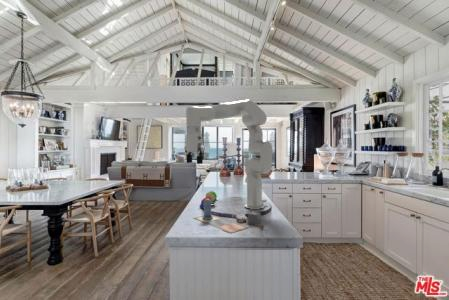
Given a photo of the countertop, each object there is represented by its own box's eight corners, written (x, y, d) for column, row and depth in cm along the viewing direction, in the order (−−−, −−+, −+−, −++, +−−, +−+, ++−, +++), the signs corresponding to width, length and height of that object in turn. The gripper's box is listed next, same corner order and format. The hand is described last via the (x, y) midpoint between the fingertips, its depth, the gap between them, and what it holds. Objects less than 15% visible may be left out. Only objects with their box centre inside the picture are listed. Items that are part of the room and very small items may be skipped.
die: (252, 220, 146) (251, 211, 145) (260, 222, 143) (260, 212, 143) (248, 223, 141) (247, 213, 141) (257, 224, 139) (256, 214, 138)
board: (209, 214, 158) (209, 214, 158) (249, 227, 134) (249, 227, 134) (192, 218, 151) (192, 218, 151) (230, 233, 126) (230, 233, 126)
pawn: (208, 216, 154) (208, 197, 153) (214, 218, 150) (214, 198, 149) (200, 218, 150) (200, 198, 150) (206, 220, 146) (206, 200, 146)
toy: (211, 213, 172) (220, 197, 184) (208, 204, 168) (217, 188, 180) (199, 212, 176) (209, 196, 187) (196, 203, 172) (206, 187, 183)
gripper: (209, 130, 139) (210, 163, 139) (190, 131, 152) (191, 161, 153) (197, 129, 134) (197, 164, 134) (179, 131, 147) (179, 162, 148)
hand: (194, 163), depth 144 cm, fingers open, 9 cm apart
